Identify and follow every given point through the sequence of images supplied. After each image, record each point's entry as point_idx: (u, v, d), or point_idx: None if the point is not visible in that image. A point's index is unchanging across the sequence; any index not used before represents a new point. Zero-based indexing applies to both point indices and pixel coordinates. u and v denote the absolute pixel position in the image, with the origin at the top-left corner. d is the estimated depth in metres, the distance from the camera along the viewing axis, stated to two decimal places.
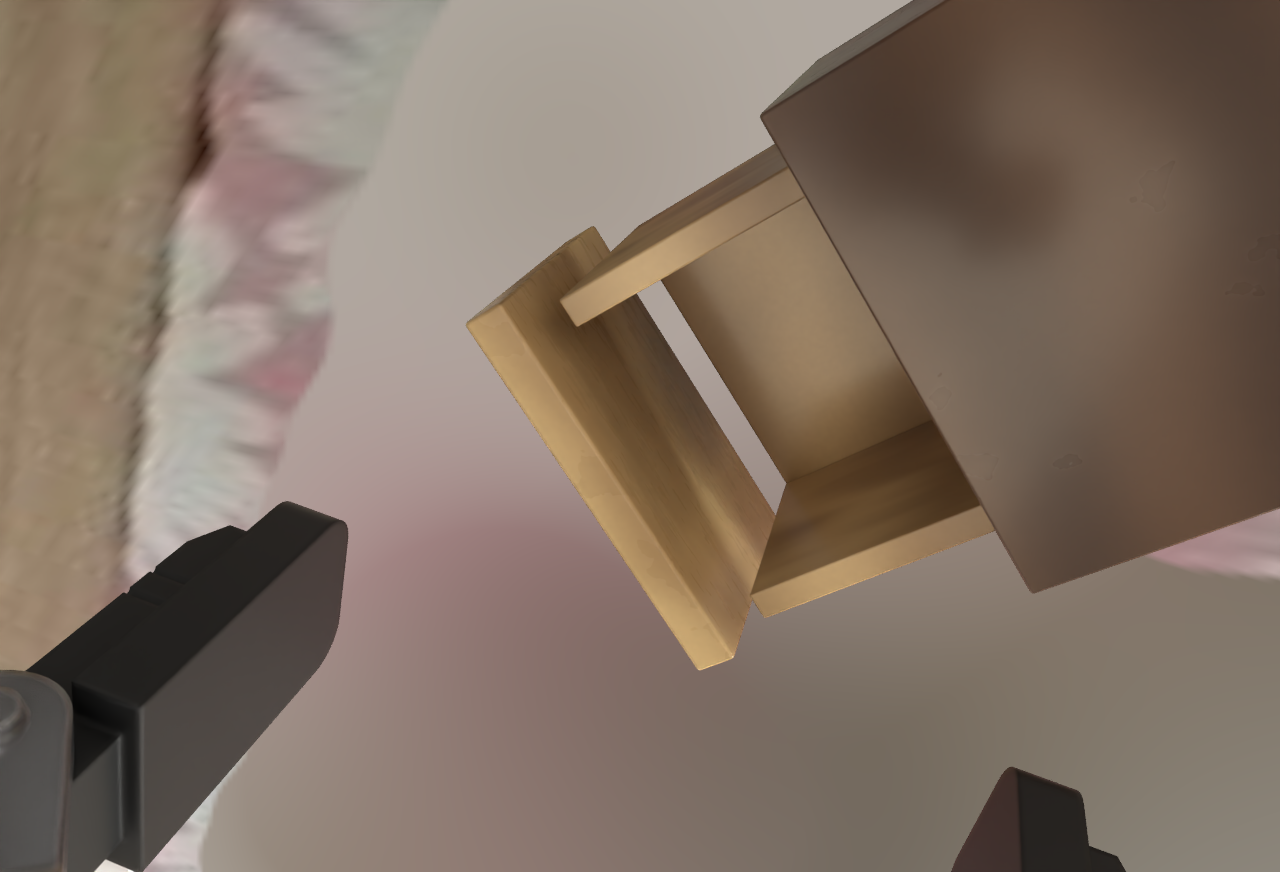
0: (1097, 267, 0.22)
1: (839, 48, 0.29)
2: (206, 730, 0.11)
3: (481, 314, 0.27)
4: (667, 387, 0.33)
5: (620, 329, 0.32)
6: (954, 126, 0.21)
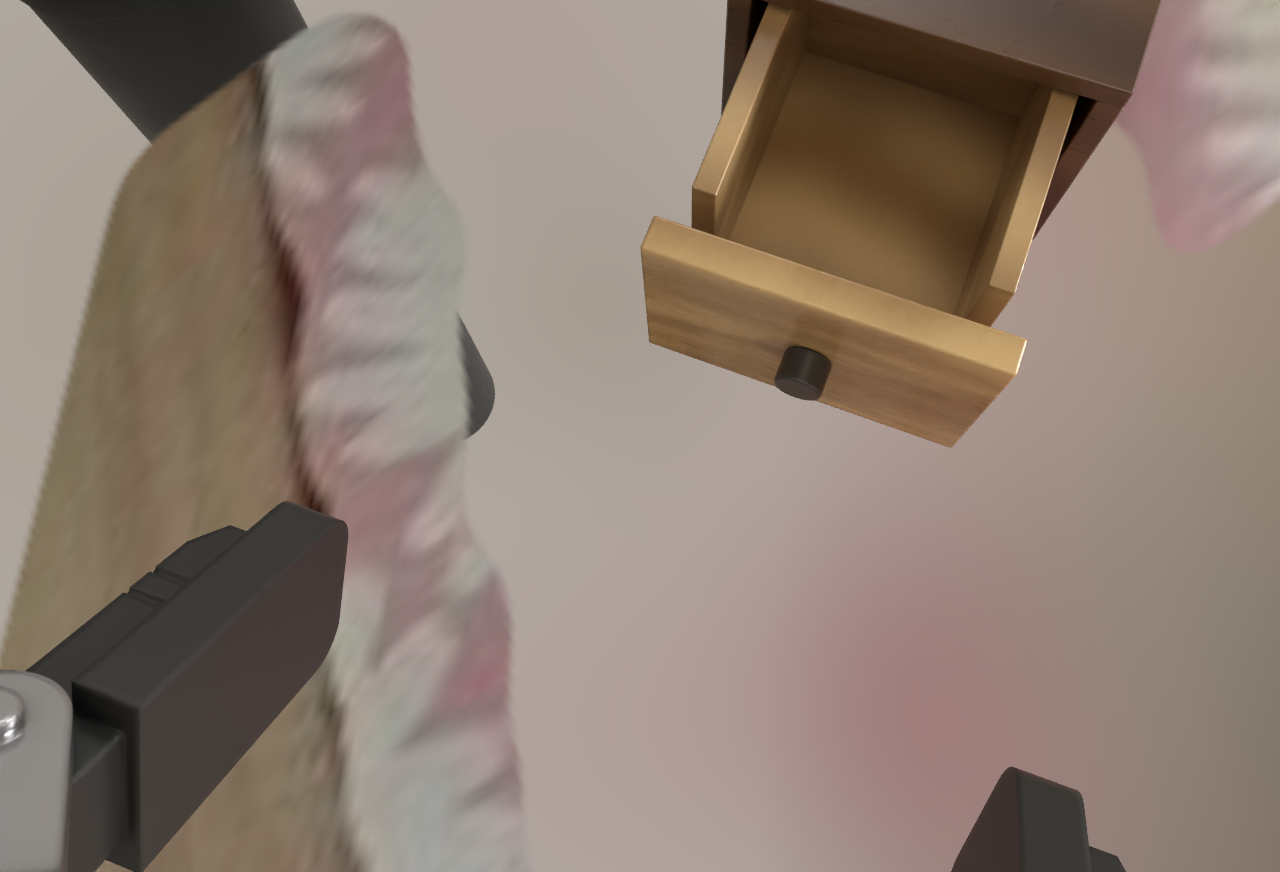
0: None
1: None
2: (205, 730, 0.11)
3: (647, 233, 0.32)
4: None
5: None
6: None
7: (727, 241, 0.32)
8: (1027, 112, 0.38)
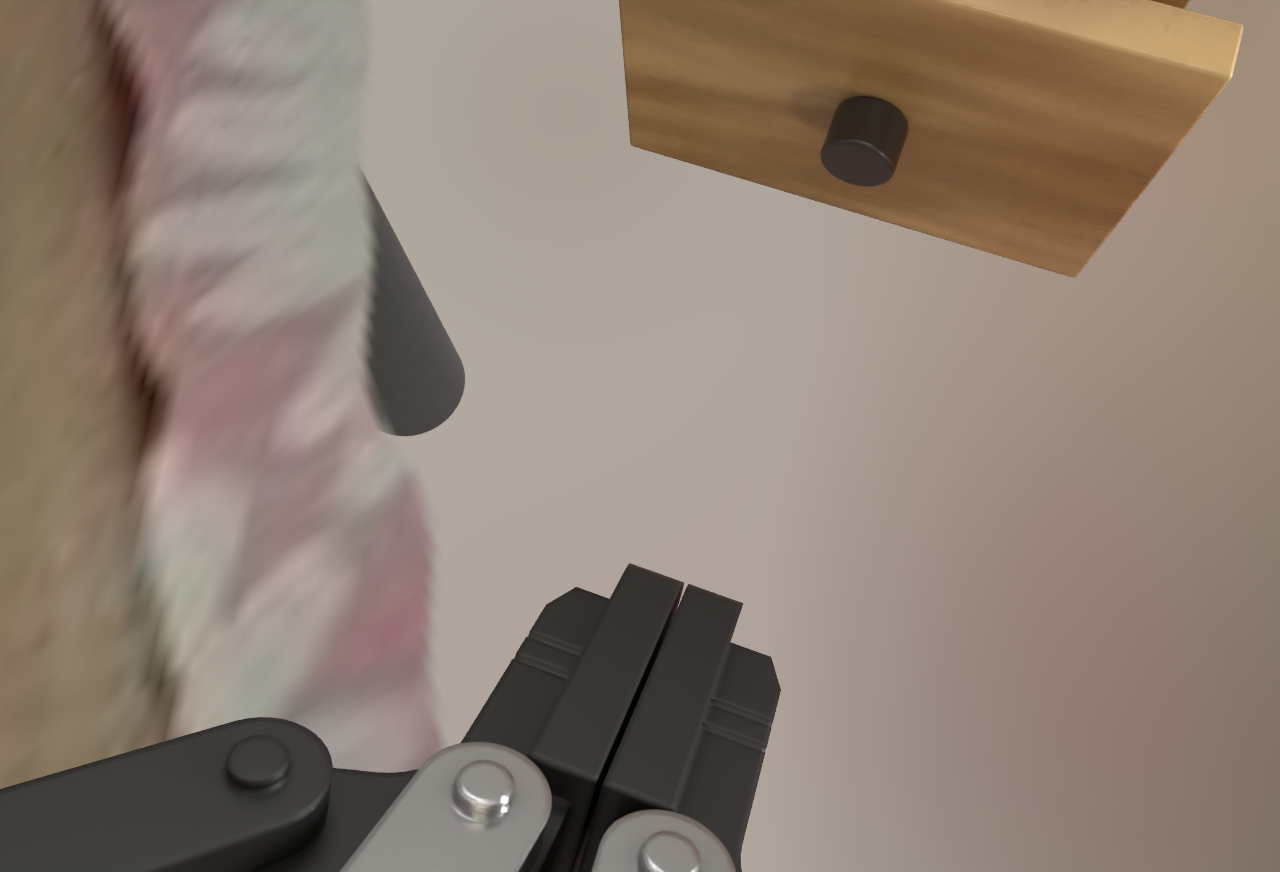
0: None
1: None
2: None
3: None
4: None
5: None
6: None
7: None
8: None
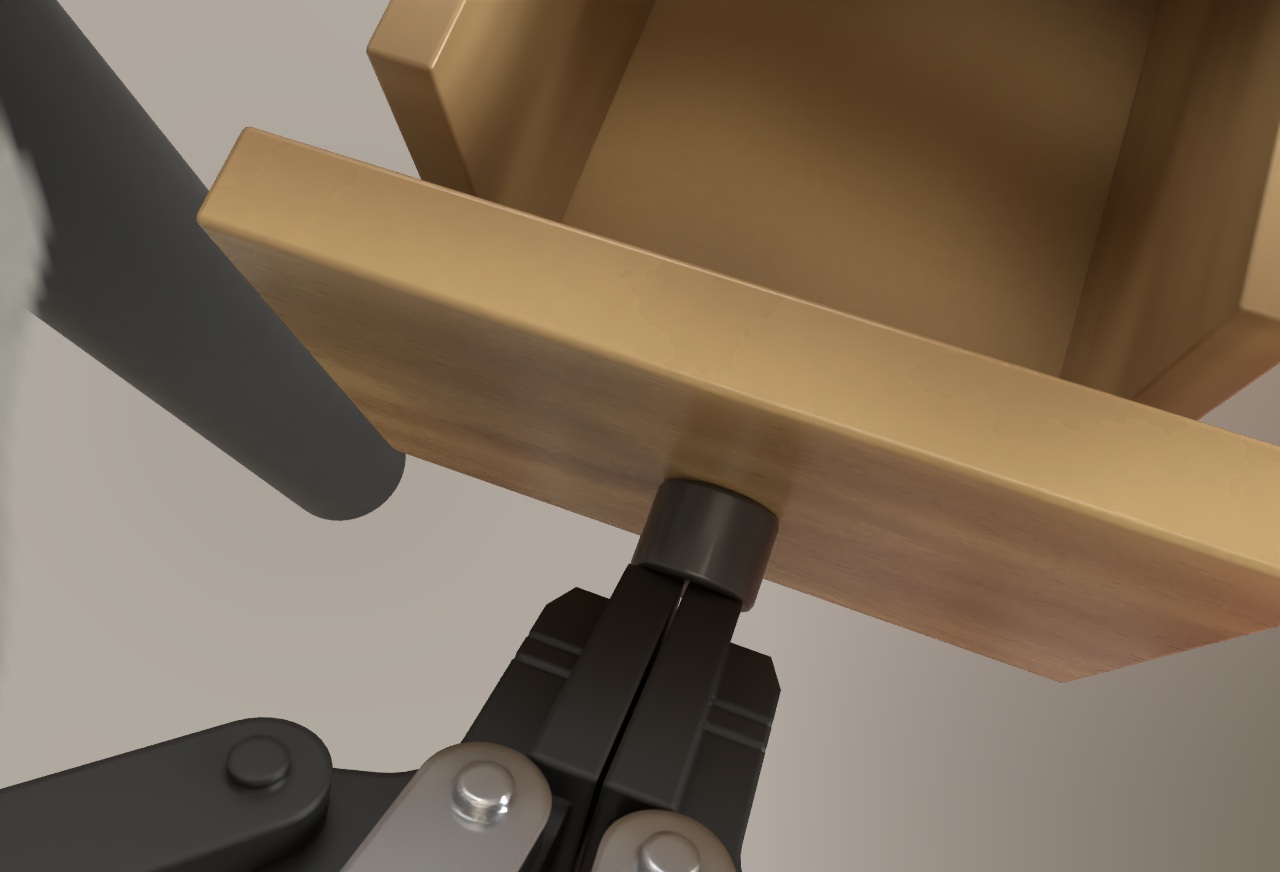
0: None
1: None
2: None
3: (219, 175, 0.11)
4: None
5: None
6: None
7: (450, 193, 0.11)
8: None
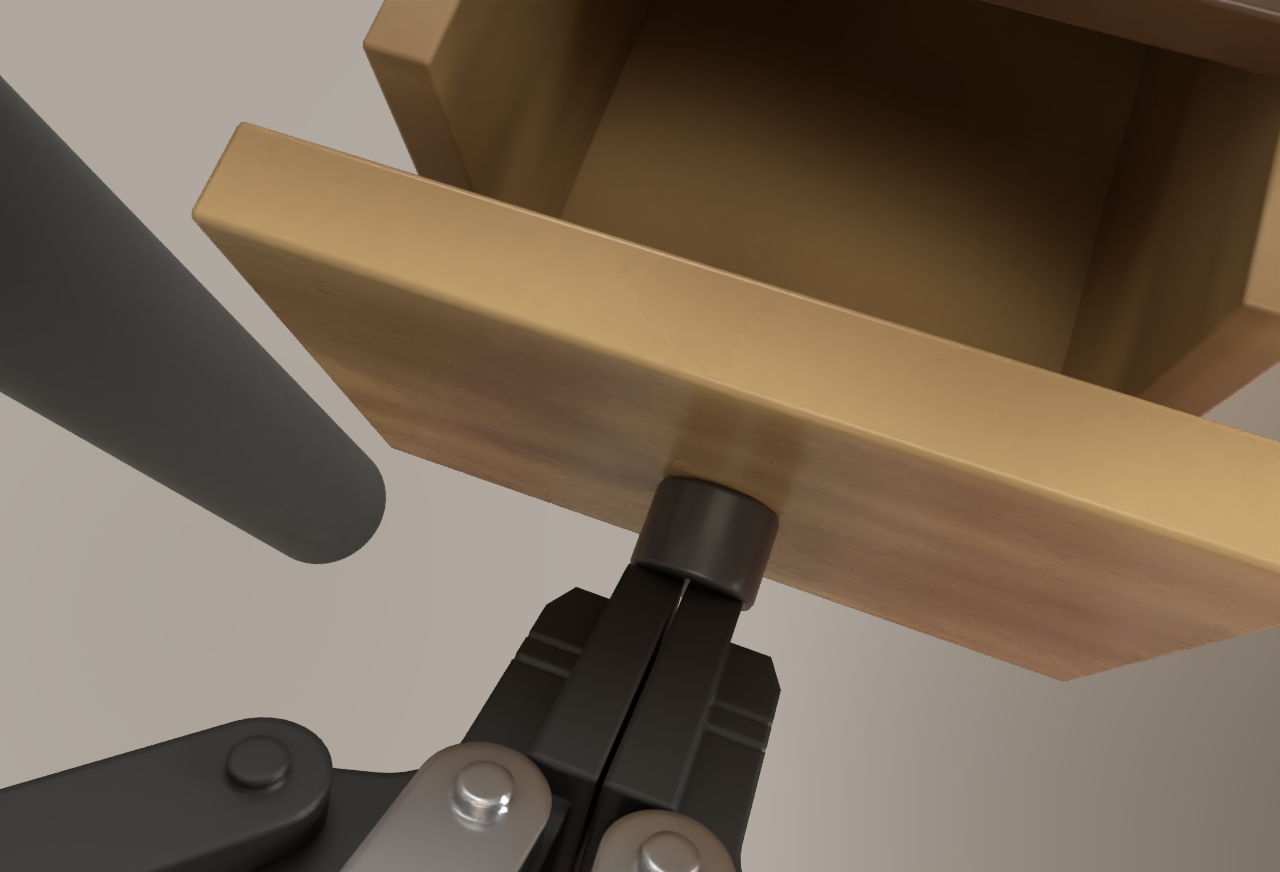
0: None
1: None
2: None
3: (214, 171, 0.11)
4: None
5: None
6: None
7: (447, 189, 0.11)
8: None
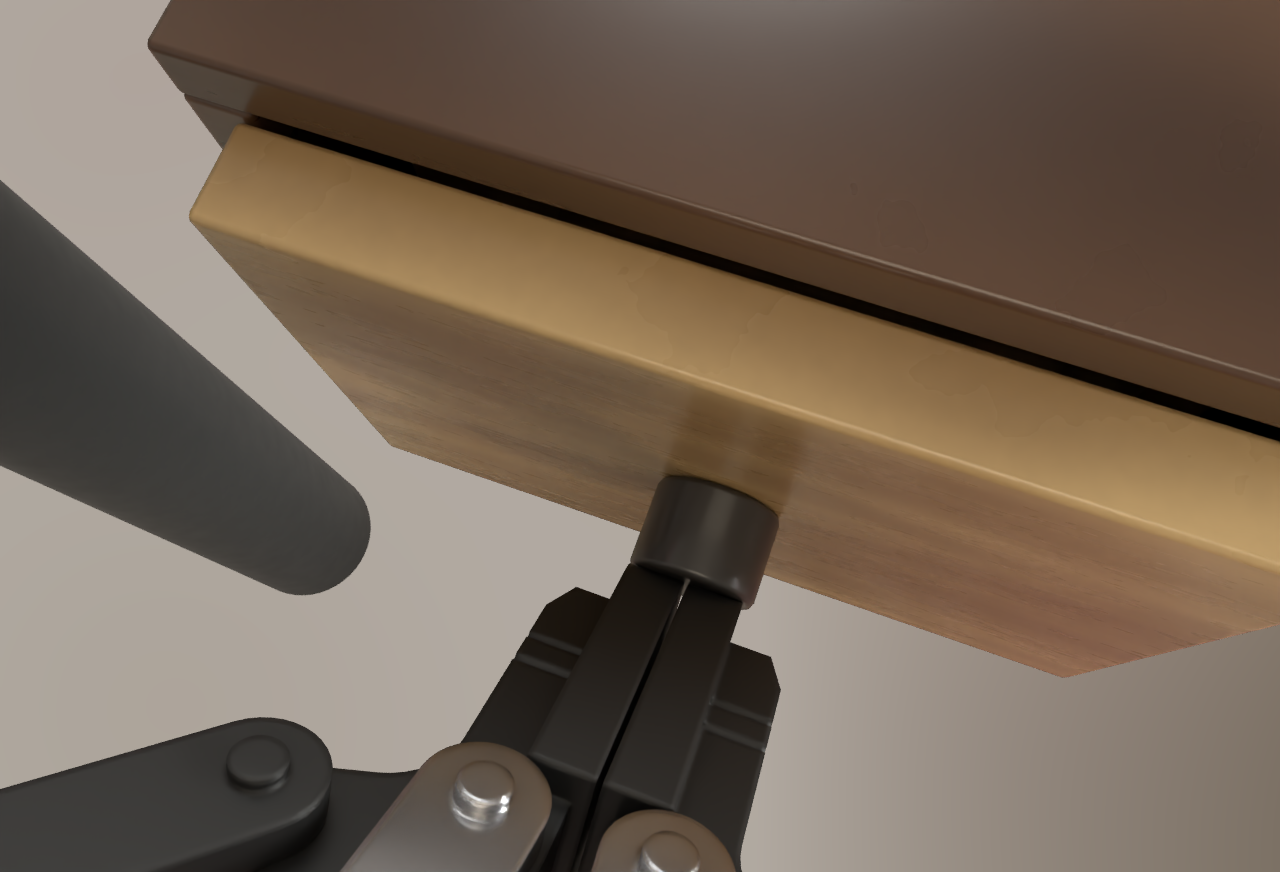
0: None
1: None
2: None
3: (212, 173, 0.11)
4: None
5: None
6: None
7: (445, 190, 0.11)
8: None
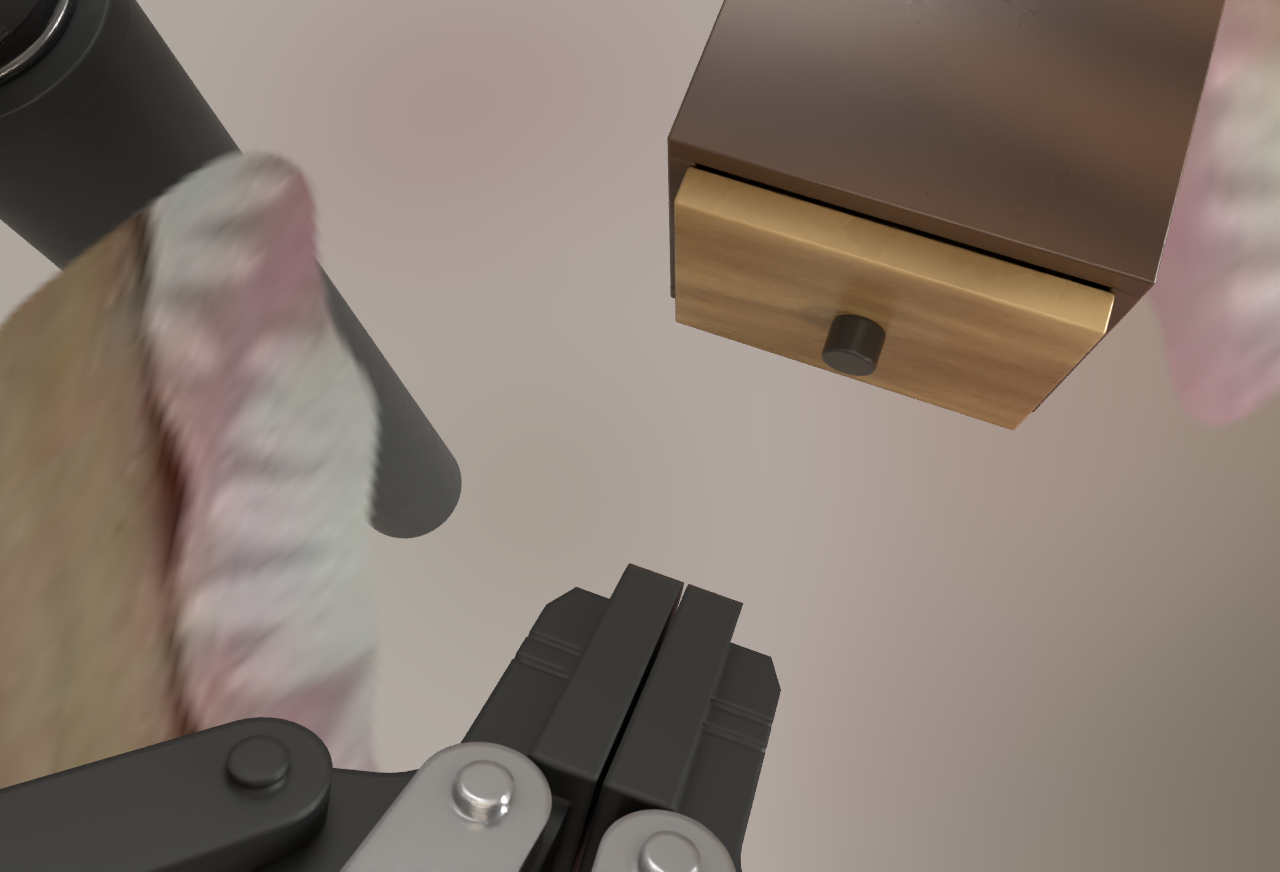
0: (940, 65, 0.28)
1: None
2: None
3: (680, 185, 0.29)
4: None
5: None
6: (785, 60, 0.29)
7: (771, 192, 0.28)
8: None
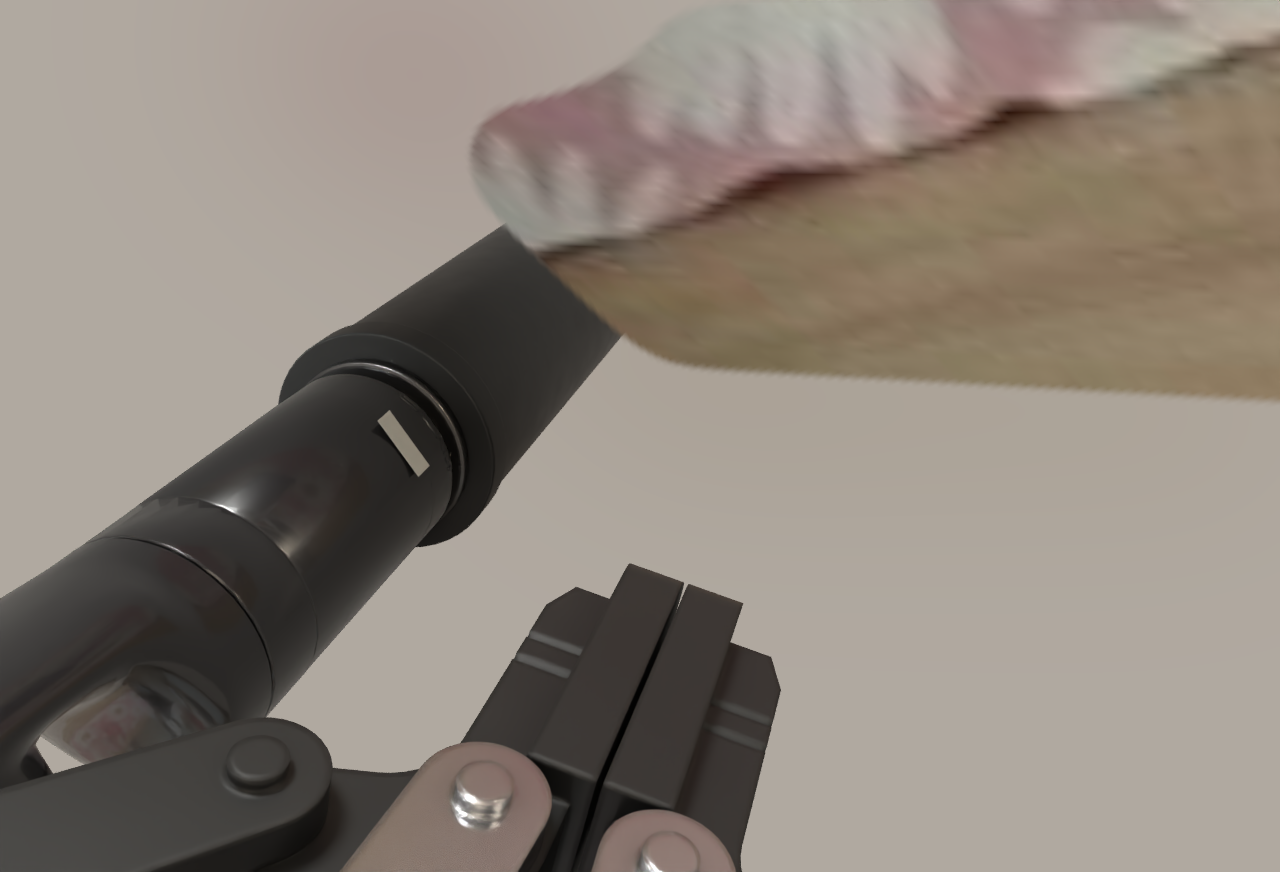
0: None
1: None
2: None
3: None
4: None
5: None
6: None
7: None
8: None
